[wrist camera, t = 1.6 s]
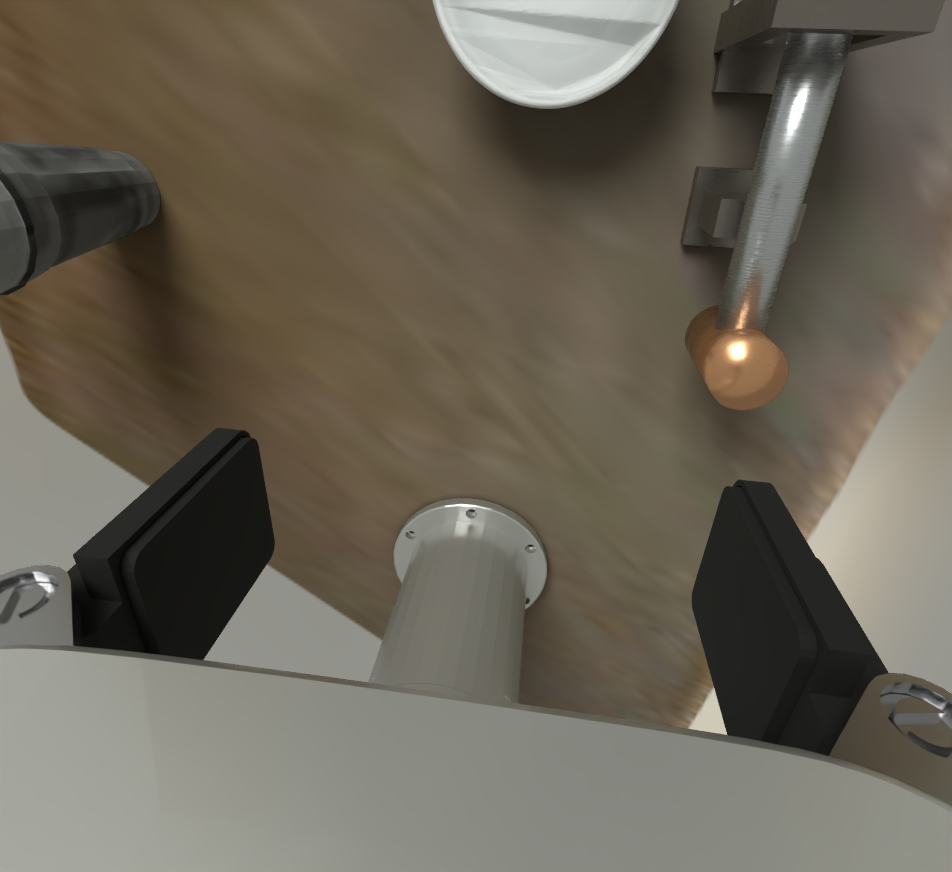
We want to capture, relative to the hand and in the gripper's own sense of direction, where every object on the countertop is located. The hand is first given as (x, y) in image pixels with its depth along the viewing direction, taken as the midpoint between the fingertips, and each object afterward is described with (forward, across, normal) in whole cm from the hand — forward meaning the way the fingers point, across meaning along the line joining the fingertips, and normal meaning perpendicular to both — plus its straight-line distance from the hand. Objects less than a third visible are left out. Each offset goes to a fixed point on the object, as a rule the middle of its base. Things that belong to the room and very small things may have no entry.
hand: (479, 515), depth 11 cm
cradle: (+26, -11, -3) cm, 29 cm away
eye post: (+26, -11, -11) cm, 31 cm away
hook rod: (+24, -11, -5) cm, 26 cm away
